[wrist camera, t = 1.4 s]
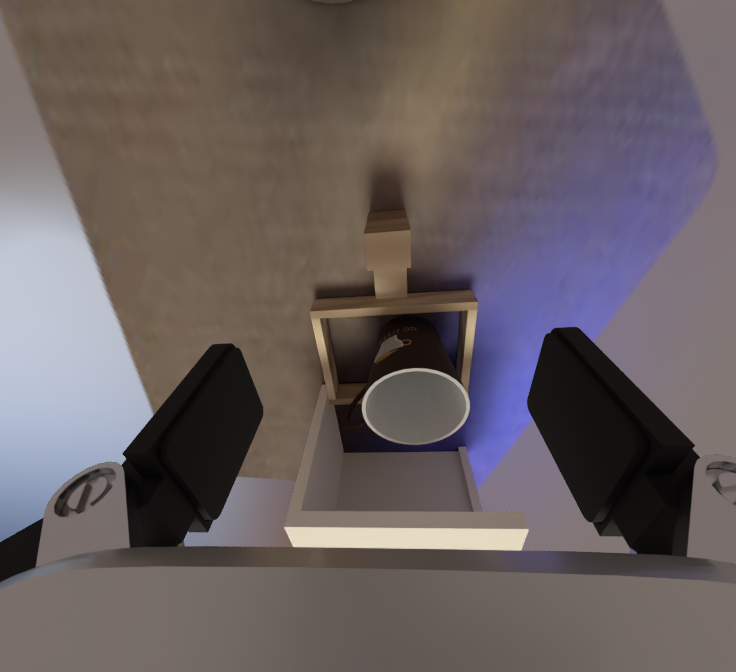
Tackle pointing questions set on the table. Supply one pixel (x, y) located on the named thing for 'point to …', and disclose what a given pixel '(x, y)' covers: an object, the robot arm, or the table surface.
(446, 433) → the coffee mug
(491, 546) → the cream open box
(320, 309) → the wooden drawer
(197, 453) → the robot arm
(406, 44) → the table surface
